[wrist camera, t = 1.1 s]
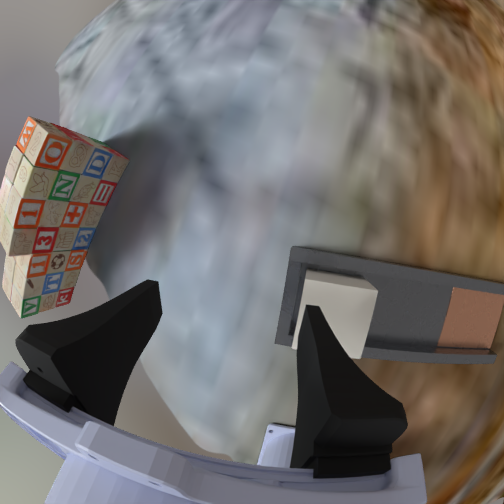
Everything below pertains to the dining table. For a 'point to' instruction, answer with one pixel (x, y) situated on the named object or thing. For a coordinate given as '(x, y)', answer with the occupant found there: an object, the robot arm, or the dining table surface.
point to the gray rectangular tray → (407, 309)
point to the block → (340, 307)
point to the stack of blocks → (52, 211)
